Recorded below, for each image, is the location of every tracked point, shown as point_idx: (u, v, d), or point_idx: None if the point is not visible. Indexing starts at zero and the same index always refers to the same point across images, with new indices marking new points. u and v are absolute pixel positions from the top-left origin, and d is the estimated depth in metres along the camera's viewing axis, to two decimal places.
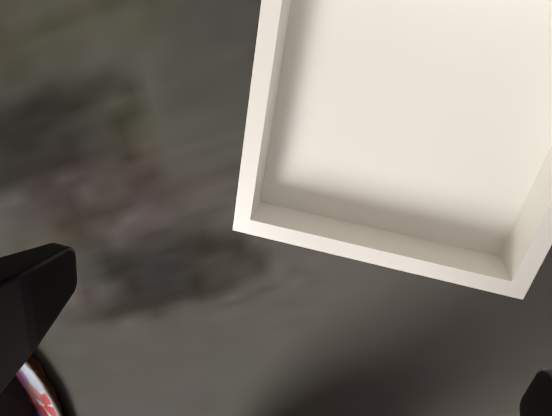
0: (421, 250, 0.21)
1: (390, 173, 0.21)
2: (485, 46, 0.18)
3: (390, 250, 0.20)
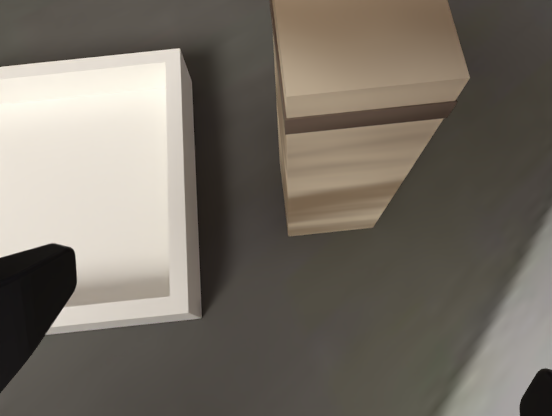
0: None
1: None
2: (104, 140, 0.24)
3: None
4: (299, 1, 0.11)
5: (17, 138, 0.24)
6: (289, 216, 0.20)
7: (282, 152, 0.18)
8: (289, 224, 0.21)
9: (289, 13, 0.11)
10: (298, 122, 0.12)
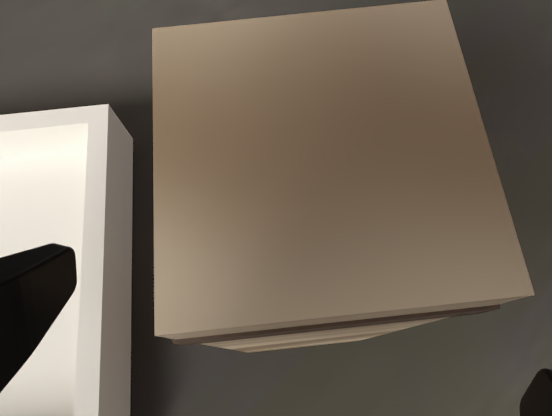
0: None
1: None
2: (13, 221, 0.19)
3: None
4: (200, 117, 0.06)
5: None
6: (242, 350, 0.14)
7: None
8: (245, 351, 0.15)
9: (178, 142, 0.06)
10: (200, 341, 0.06)
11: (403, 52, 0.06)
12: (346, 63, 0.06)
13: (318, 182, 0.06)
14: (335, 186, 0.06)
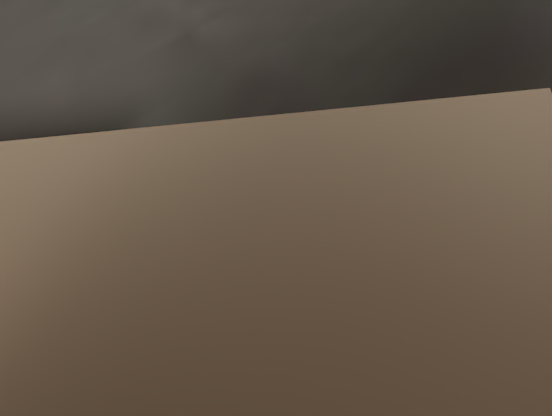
0: None
1: None
2: None
3: None
4: None
5: None
6: None
7: None
8: None
9: None
10: None
11: (459, 224, 0.03)
12: (322, 254, 0.03)
13: None
14: None
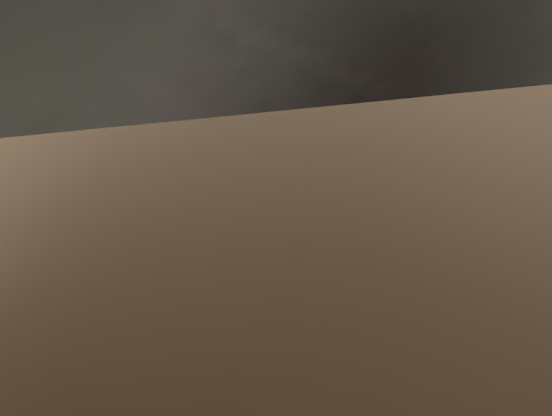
0: None
1: None
2: None
3: None
4: None
5: None
6: None
7: None
8: None
9: None
10: None
11: (463, 219, 0.03)
12: (328, 248, 0.03)
13: None
14: None
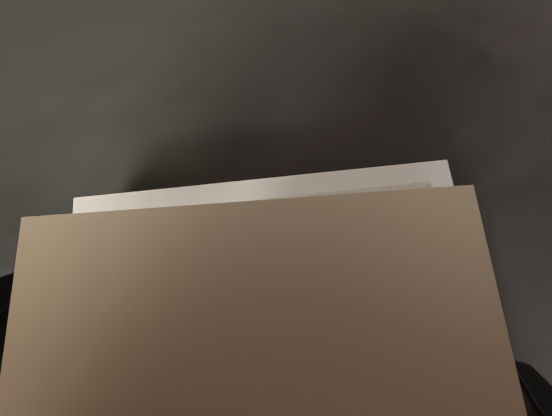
0: None
1: None
2: None
3: None
4: (72, 389, 0.04)
5: None
6: None
7: None
8: None
9: None
10: None
11: (403, 280, 0.04)
12: (312, 298, 0.04)
13: None
14: None
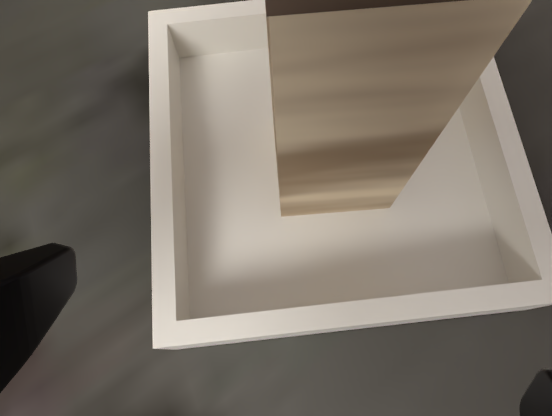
0: None
1: (336, 231, 0.18)
2: None
3: None
4: None
5: (254, 92, 0.20)
6: (281, 185, 0.15)
7: (272, 93, 0.13)
8: (281, 198, 0.16)
9: None
10: None
11: None
12: None
13: None
14: None
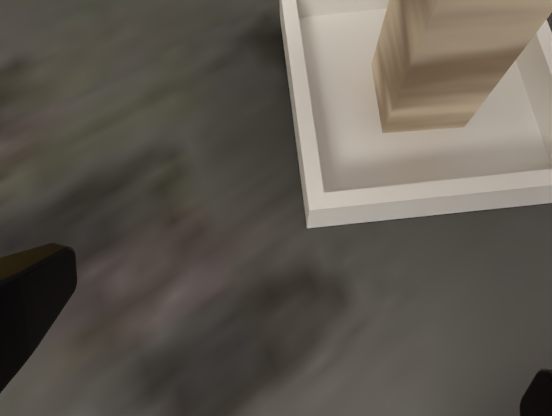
0: None
1: (424, 143, 0.23)
2: None
3: None
4: None
5: (354, 43, 0.26)
6: (398, 97, 0.20)
7: (402, 26, 0.19)
8: (392, 111, 0.22)
9: None
10: None
11: None
12: None
13: None
14: None
